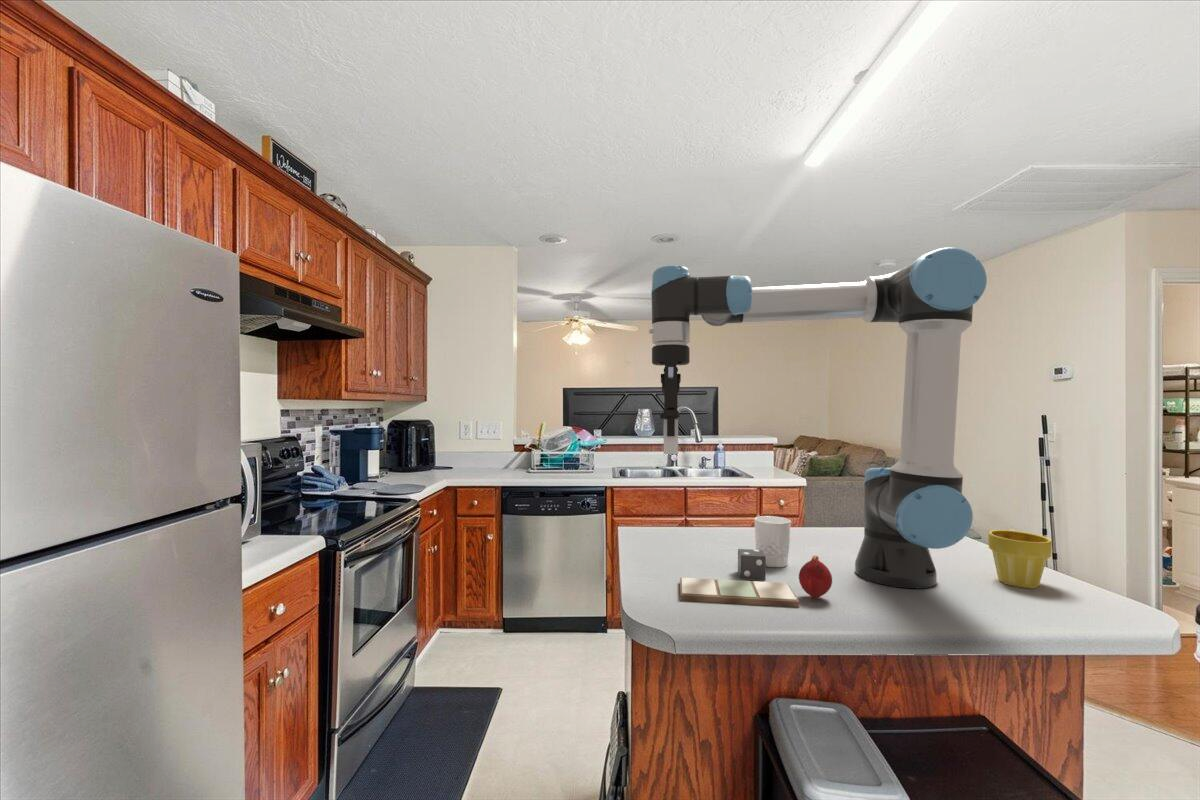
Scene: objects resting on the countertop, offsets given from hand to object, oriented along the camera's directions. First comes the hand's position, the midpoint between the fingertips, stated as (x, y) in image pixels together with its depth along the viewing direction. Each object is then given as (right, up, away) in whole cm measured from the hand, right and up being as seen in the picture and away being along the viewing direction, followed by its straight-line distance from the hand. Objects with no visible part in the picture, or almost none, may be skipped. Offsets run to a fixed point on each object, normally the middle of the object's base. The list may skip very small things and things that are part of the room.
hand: (670, 451), depth 109 cm
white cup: (+25, -27, +15) cm, 40 cm away
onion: (+26, -27, -7) cm, 38 cm away
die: (+18, -27, +6) cm, 33 cm away
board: (+12, -27, -5) cm, 30 cm away
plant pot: (+72, -28, +2) cm, 77 cm away
